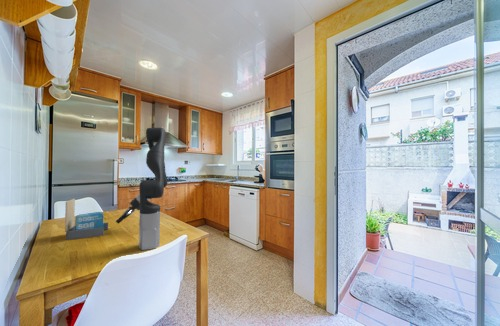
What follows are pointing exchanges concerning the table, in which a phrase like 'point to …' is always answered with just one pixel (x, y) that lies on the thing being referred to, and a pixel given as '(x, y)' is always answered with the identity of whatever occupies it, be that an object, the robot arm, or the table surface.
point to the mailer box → (70, 227)
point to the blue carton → (89, 221)
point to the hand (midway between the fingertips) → (117, 222)
